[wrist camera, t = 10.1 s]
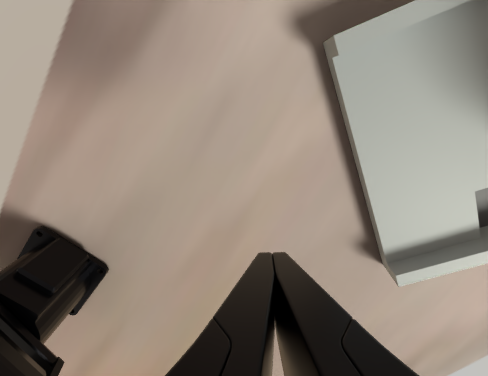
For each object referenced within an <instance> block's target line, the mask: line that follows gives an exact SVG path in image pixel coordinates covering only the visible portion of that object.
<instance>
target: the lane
mask: <svg viewBox="0 0 488 376" xmlns="http://www.w3.org/2000/svg"><path fill="white" fill-rule="evenodd" d="M323 45H324V49H325V53H326V57H327V60H328V64H329V68H330V71H331V75H332V79H333V82H334V86H335V90H336V93H337V97H338V101H339V104H340V108H341V112H342V115H343V119H344V123H345V126H346V130H347V134H348V137H349V141H350V145H351V149H352V152H353V156H354V160H355V163H356V167H357V171H358V174H359V178H360V182H361V185H362V189H363V193H364V196H365V200H366V204H367V207H368V211H369V215H370V218H371V222H372V226H373V230H374V233H375V237H376V241H377V244H378V248H379V252H380V255H381V259H382V263H383V265H384V267H385V268H386V270H387V271H388V272H389V274H390V275H391V277H392V278H393V280H394V281H395V282H396V284H397V285H398V287H400V286H404V285H408V284H412V283H415V282H419V281H423V280H427V279H430V278H434V277H438V276H442V275H446V274H449V273H453V272H457V271H461V270H465V269H468V268H472V267H476V266H480V265H484V264H487V263H488V0H415V1H412V2H410V3H408V4H406V5H403V6H401V7H399V8H396V9H394V10H392V11H389V12H387V13H385V14H382V15H380V16H378V17H375V18H373V19H371V20H369V21H366V22H364V23H362V24H359V25H357V26H355V27H352V28H350V29H348V30H345V31H343V32H341V33H339V34H336V35H334V36H332V37H331V38H329V39H328V40H326V41H325V42H324V43H323Z"/></svg>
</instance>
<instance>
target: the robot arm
mask: <svg viewBox="0 0 488 376" xmlns="http://www.w3.org/2000/svg"><path fill="white" fill-rule="evenodd" d="M100 269H101V270H103V271H101V270H100ZM108 271H109V268H108V267H107V266H106V265H105V264H104V263H102V262H100V261H99V260H97V259H96V258H94V257H92V256H91V255H89V254H88V253H86V252H84V251H83V250H81V249H80V248H78V247H76V246H75V245H73V244H72V243H70V242H68V241H67V240H65V239H64V238H62V237H60V236H59V235H57V234H56V233H54V232H52V231H51V230H49V229H48V228H46V227H44V226H39V227H37V228H36V229H35V230H34V231H33V232H32V234H31V236H30V238H29V239H28V241H27V243H26V245H25V246H24V248H23V250H22V252H21V253H20V255H19V257H18V259H17V260H16V261H15V262H13V263H12V264H10V265H9V266H8V267H6V268H5V269H3V270H2V271H1V272H0V376H58V375H59V373H60V371H61V368H62V366H63V364H64V361H63V360H62V359H61V358H60V357H56V356H55V355H54V354H53V353H52V352H51V351H50V350H49V349H48V348H47V347H46V346H45V345H44V343H45V342H46V340H47V339H48V338H49V337H50V336H51V334H52V333H53V332H54V331H55V330H56V328H57V327H58V326H59V325H60V324H61V322H62V321H63V320H64V319H65V318H66V316H67V315H68V314H70V315H76V314H77V313H78V311H79V310H80V309H81V308H82V306H83V305H84V303H85V302H86V301H87V299H88V298H89V297H90V295H91V294H92V293H93V291H94V290H95V289H96V287H97V286H98V285H99V283H100V282H101V281H102V279H103V278H104V277H105V275H106V274H107V273H108ZM275 328H276V334H277V340H278V345H279V350H280V356H281V361H282V366H283V371H284V376H419V375H418V374H416V373H415V372H414V371H413V370H411V369H410V368H409V367H408V366H407V365H405V364H404V363H403V362H402V361H400V360H399V359H398V358H397V357H396V356H395V355H393V354H392V353H391V352H390V351H389V350H387V349H386V348H385V347H384V346H383V345H381V344H380V343H379V342H378V341H377V340H376V339H375V338H374V337H373V336H372V335H371V334H369V333H368V332H367V331H366V330H365V329H364V328H363V327H362V326H361V325H360V324H359V323H358V322H357V321H356V320H355V319H353V318H352V316H350V315H349V314H348V313H347V312H346V311H345V310H344V309H343V308H342V307H341V306H340V305H339V304H338V303H337V302H336V301H335V300H334V299H333V298H332V297H331V296H330V295H329V294H328V293H327V292H326V291H325V290H324V289H323V288H322V287H321V286H320V285H319V284H317V283H316V282H315V281H314V280H313V279H312V278H311V277H310V276H309V275H308V274H307V273H306V272H305V271H304V270H303V269H302V268H301V267H300V266H299V265H298V264H297V263H296V262H295V261H294V260H293V259H292V258H291V257H290V256H289V255H288V254H287V253H285V252H274V253H273V254H271V253H270V252H267V253H258V254H257V256H256V257H255V259H254V260H253V261H252V263H251V264H250V266H249V267H248V269H247V270H246V271H245V273H244V274H243V276H242V277H241V278H240V280H239V281H238V283H237V284H236V285H235V287H234V288H233V290H232V291H231V292H230V294H229V295H228V297H227V298H226V299H225V301H224V302H223V304H222V305H221V307H220V308H219V309H218V311H217V312H216V314H215V315H214V316H213V319H211V320H210V322H209V323H208V325H207V326H206V327H205V329H204V330H203V332H202V333H201V334H200V335H199V337H198V338H197V339H196V341H195V342H194V343H193V345H192V346H191V347H190V348H189V349H188V350H187V351H186V353H185V354H184V355H183V356H182V357H181V358H180V360H179V361H178V362H177V363H176V364H175V365H174V366H173V367H172V368H171V369H170V371H169V372H168V373H167V374H166V375H165V376H272V366H273V350H274V333H275Z"/></svg>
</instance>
